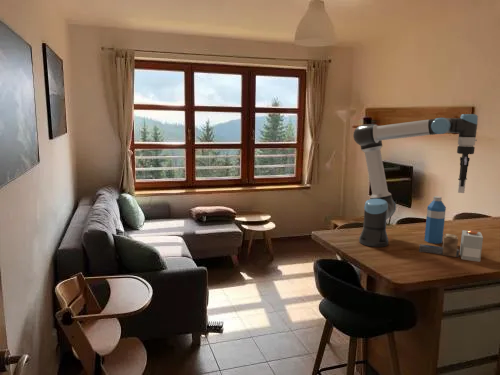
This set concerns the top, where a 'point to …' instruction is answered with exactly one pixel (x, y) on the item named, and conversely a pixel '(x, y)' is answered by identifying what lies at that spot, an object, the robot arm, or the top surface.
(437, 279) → the top surface
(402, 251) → the top surface
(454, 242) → the block
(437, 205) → the water bottle
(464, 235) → the white box
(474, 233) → the plunger
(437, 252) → the rail
